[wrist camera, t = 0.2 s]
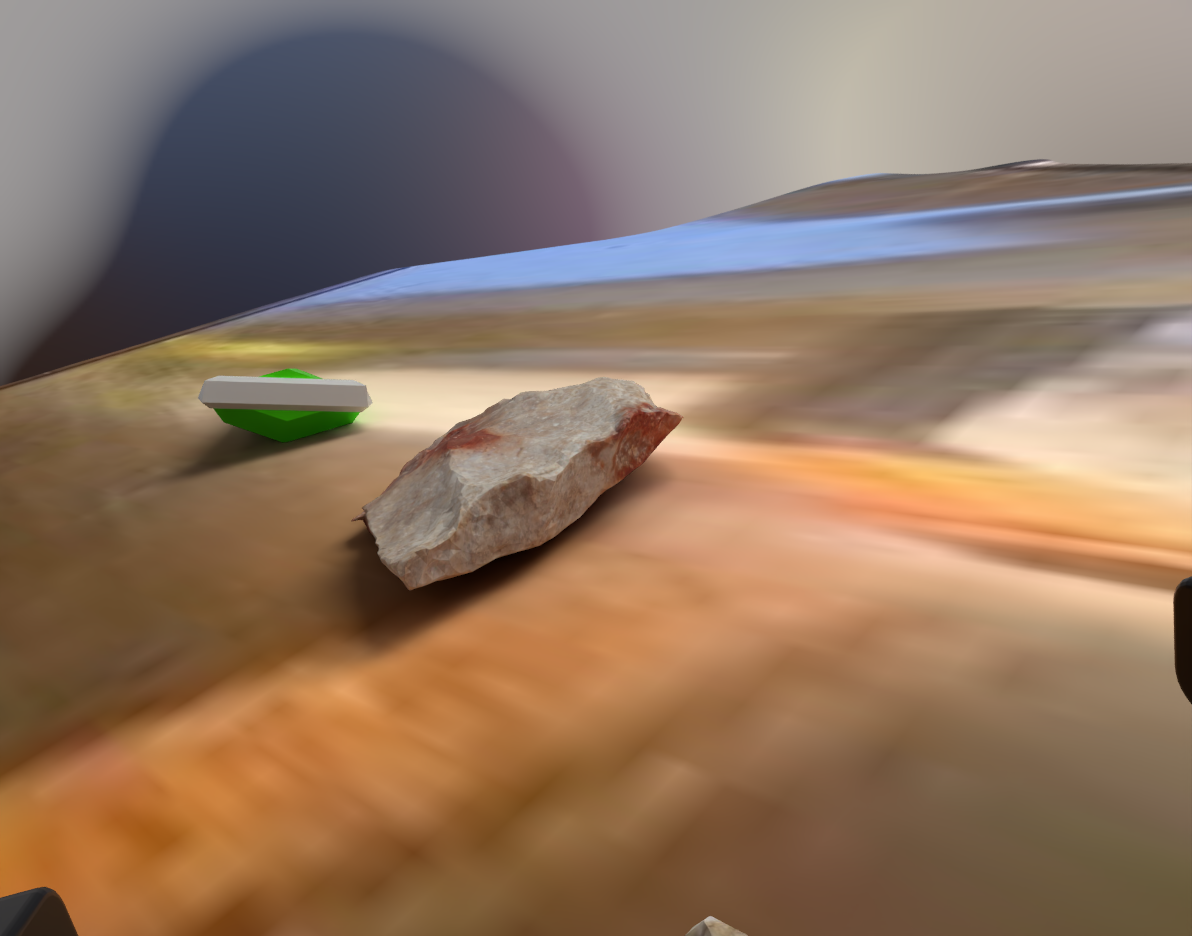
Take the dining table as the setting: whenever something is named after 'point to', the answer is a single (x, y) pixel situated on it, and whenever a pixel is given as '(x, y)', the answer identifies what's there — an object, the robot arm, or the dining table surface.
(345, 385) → the green wedge
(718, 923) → the rock
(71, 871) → the dining table surface
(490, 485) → the stone
